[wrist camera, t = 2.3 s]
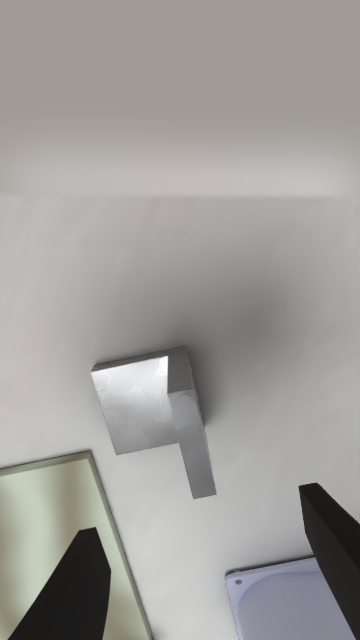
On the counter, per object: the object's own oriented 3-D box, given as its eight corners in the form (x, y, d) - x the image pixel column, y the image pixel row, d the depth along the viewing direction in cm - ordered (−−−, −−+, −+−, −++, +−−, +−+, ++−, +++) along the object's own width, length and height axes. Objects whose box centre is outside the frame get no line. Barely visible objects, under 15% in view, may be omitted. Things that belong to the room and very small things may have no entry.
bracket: (186, 345, 20) (192, 388, 15) (204, 426, 22) (216, 494, 16) (94, 364, 21) (65, 415, 15) (118, 443, 22) (100, 517, 16)
